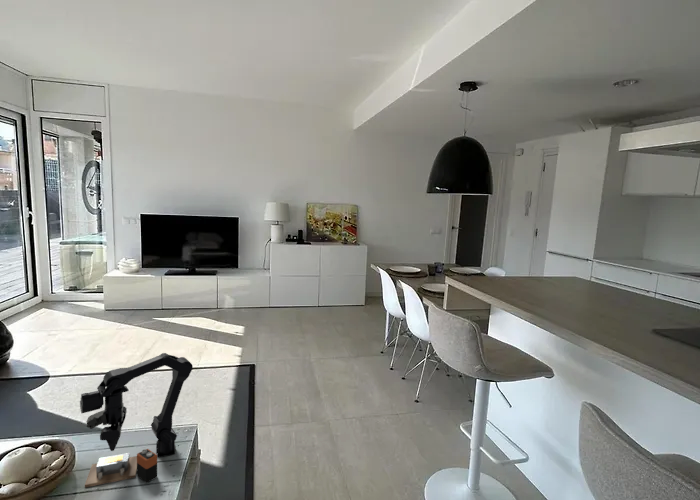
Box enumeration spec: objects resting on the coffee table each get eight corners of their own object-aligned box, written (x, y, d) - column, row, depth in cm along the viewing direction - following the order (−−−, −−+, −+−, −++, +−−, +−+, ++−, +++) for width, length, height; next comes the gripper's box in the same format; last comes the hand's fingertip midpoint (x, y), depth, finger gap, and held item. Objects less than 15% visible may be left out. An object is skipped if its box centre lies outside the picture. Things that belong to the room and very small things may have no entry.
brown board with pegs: (139, 457, 155) (138, 450, 154) (135, 477, 144) (135, 469, 143) (92, 466, 148) (92, 458, 148) (84, 487, 137) (84, 479, 137)
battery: (146, 483, 141) (146, 458, 140) (136, 476, 144) (136, 451, 143) (157, 477, 144) (157, 452, 143) (147, 470, 148) (147, 445, 147)
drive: (96, 477, 141) (96, 466, 141) (99, 467, 146) (99, 457, 146) (127, 471, 145) (127, 461, 145) (129, 462, 150) (129, 452, 150)
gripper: (93, 396, 150) (94, 434, 151) (82, 421, 133) (83, 463, 134) (126, 392, 154) (127, 428, 156) (119, 415, 137) (120, 456, 139)
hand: (114, 443), depth 146 cm, fingers open, 9 cm apart
